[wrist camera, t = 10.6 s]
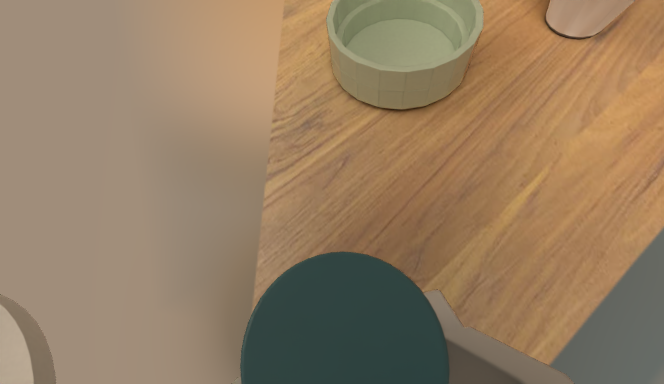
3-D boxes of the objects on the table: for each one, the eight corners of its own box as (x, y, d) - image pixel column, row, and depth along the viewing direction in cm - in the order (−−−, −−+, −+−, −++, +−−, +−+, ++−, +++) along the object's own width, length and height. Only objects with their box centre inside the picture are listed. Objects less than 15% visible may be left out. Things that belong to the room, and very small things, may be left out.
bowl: (340, 123, 35) (335, 82, 30) (326, 28, 42) (320, -20, 36) (484, 102, 34) (506, 56, 29) (446, 8, 41) (458, -43, 36)
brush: (312, 419, 15) (61, 748, 3) (304, 303, 17) (151, 183, 5) (423, 406, 15) (723, 693, 2) (401, 291, 17) (496, 135, 5)
